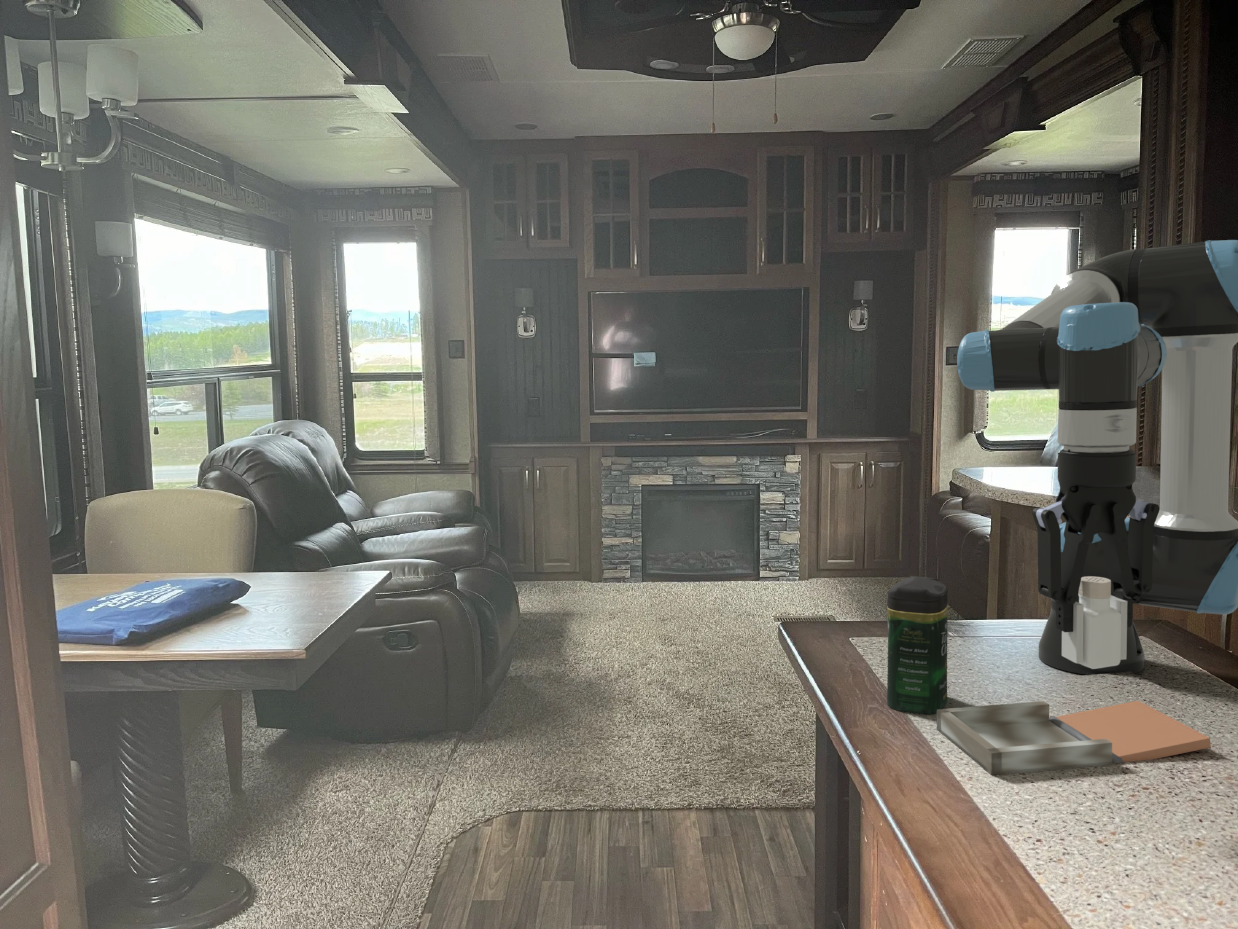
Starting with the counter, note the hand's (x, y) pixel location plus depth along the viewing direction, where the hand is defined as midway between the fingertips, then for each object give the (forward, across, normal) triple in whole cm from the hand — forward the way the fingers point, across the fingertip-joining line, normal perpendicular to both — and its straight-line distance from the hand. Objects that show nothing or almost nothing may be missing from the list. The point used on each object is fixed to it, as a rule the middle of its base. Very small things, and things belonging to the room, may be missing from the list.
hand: (1093, 657), depth 101 cm
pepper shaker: (+1, 0, 0) cm, 1 cm away
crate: (+16, -2, +12) cm, 20 cm away
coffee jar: (+16, -7, +29) cm, 34 cm away
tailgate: (+15, +7, +12) cm, 20 cm away
